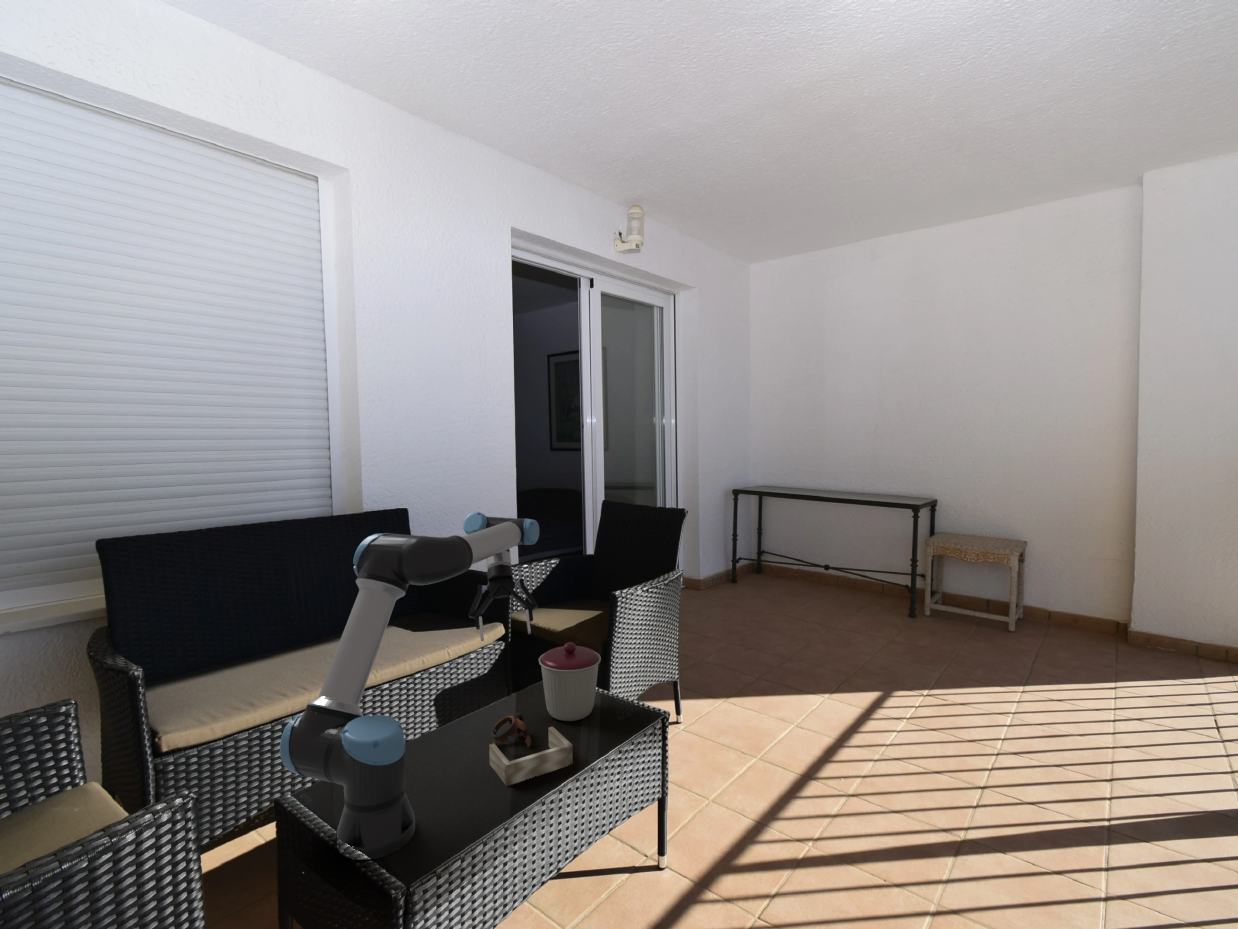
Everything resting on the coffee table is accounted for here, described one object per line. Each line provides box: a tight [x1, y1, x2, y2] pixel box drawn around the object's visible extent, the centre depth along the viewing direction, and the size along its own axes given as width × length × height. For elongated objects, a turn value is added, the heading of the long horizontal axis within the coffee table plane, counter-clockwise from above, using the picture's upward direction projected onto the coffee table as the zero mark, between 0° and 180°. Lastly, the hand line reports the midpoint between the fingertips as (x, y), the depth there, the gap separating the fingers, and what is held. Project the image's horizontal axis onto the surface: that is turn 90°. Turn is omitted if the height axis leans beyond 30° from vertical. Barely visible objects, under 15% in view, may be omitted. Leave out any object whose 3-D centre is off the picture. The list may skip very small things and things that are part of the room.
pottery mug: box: [490, 712, 532, 748], centre depth 165 cm, size 12×10×8 cm
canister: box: [538, 641, 602, 722], centre depth 181 cm, size 18×18×21 cm
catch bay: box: [488, 726, 574, 787], centre depth 154 cm, size 17×11×5 cm, turn 122°
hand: (506, 636), depth 180 cm, fingers open, 13 cm apart
